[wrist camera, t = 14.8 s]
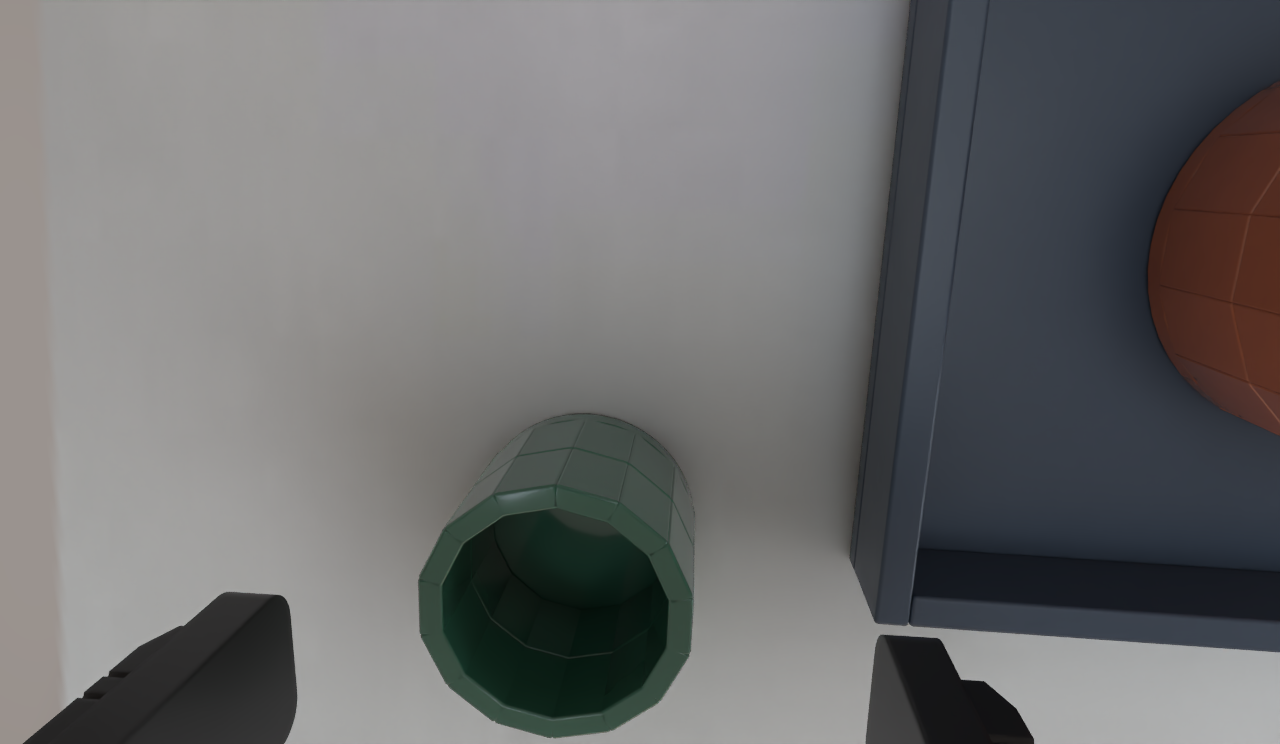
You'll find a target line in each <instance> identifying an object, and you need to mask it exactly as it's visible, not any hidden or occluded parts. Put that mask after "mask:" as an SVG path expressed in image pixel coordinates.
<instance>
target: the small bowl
mask: <svg viewBox="0 0 1280 744" xmlns="http://www.w3.org/2000/svg"><path fill="white" fill-rule="evenodd" d="M694 533H695V512H694V507H693V504H692V498H691V494H690V491H689V488H688V484H687V482H686V480H685V478H684V475H683V473H682V471H681V470H680V468H679V466H678V465H677V463H676V462H675V460H674V459H673V458H672V457H671V455H670V454H669V453H668V452H667V450H666V449H665V448H664V447H662V446H661V445H660V444H659V443H658V442H657V441H656V440H655V439H653V438H652V437H651V436H649V435H648V434H647V433H645V432H644V431H642V430H640V429H638V428H636V427H635V426H633V425H631V424H628V423H626V422H623V421H621V420H618V419H614V418H610V417H606V416H601V415H593V414H572V415H564V416H559V417H555V418H551V419H548V420H545V421H543V422H540V423H538V424H535V425H533V426H532V427H530V428H528V429H526V430H525V431H523V432H522V433H520V434H519V435H518V436H516V437H515V438H514V439H513V440H511V441H510V442H509V444H508V445H507V446H506V447H505V448H504V449H503V450H502V451H500V452H499V453H498V454H497V455H496V456H495V457H494V458H493V460H492V461H491V463H490V464H489V465H488V467H487V468H486V470H485V471H484V472H483V474H482V475H481V477H480V478H479V479H478V481H477V482H476V484H475V485H474V486H473V488H472V490H471V491H470V492H469V493H468V495H467V496H466V498H465V499H464V500H463V502H462V503H461V505H460V506H459V507H458V509H457V510H456V512H455V513H454V515H453V516H452V517H451V519H450V520H449V522H448V523H447V524H446V526H445V527H444V529H443V530H442V532H441V534H440V536H439V538H438V540H437V542H436V544H435V546H434V548H433V550H432V552H431V554H430V556H429V557H428V559H427V561H426V563H425V565H424V567H423V569H422V571H421V573H420V575H419V580H418V590H419V626H420V634H421V638H422V640H423V642H424V644H425V646H426V647H427V649H428V651H429V653H430V655H431V657H432V659H433V661H434V662H435V664H436V666H437V668H438V670H439V672H440V674H441V675H442V677H443V679H444V681H445V683H446V684H447V685H448V686H449V688H450V689H452V690H453V691H454V692H456V693H457V694H458V695H459V696H461V697H462V698H463V699H465V700H466V701H467V702H468V703H470V704H471V705H472V706H474V707H475V708H476V709H477V710H479V711H480V712H481V713H483V714H484V715H485V716H486V717H488V718H489V719H490V720H492V721H495V722H496V723H498V724H501V725H505V726H508V727H512V728H516V729H519V730H523V731H526V732H530V733H533V734H537V735H541V736H544V737H548V738H551V737H553V738H562V737H571V736H579V735H588V734H596V733H605V732H609V731H610V730H611V731H613V730H615V729H616V728H618V727H620V726H621V725H623V724H625V723H626V722H628V721H630V720H631V719H633V718H635V717H636V716H638V715H640V714H641V713H643V712H645V711H646V710H648V709H650V708H651V707H653V706H655V705H656V704H658V703H659V701H661V700H662V699H663V697H664V696H665V694H666V692H667V691H668V689H669V688H670V686H671V684H672V683H673V681H674V680H675V678H676V677H677V675H678V673H679V672H680V670H681V669H682V667H683V665H684V664H685V662H686V661H687V659H688V657H689V654H690V652H691V639H692V623H693V606H694Z"/></svg>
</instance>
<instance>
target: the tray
mask: <svg viewBox="0 0 1280 744" xmlns="http://www.w3.org/2000/svg"><path fill="white" fill-rule="evenodd" d="M1278 81H1280V0H911V3H910V12H909V21H908V30H907V39H906V49H905V58H904V67H903V76H902V85H901V94H900V103H899V113H898V122H897V131H896V140H895V149H894V158H893V167H892V176H891V186H890V195H889V204H888V213H887V222H886V231H885V240H884V250H883V259H882V268H881V277H880V286H879V295H878V304H877V313H876V323H875V332H874V341H873V350H872V359H871V368H870V377H869V387H868V396H867V405H866V414H865V423H864V432H863V441H862V451H861V460H860V469H859V478H858V487H857V496H856V505H855V514H854V524H853V533H852V542H851V551H850V561H851V563H852V566H853V568H854V570H855V573H856V575H857V578H858V580H859V583H860V585H861V588H862V591H863V593H864V596H865V598H866V601H867V603H868V606H869V608H870V611H871V613H872V616H873V619H874V621H875V622H876V623H878V624H888V625H902V626H906V625H907V624H908V622H909V624H910V625H911V626H916V627H930V628H944V629H958V630H972V631H987V632H1001V633H1015V634H1029V635H1043V636H1057V637H1071V638H1086V639H1100V640H1114V641H1128V642H1142V643H1156V644H1170V645H1184V646H1199V647H1213V648H1227V649H1241V650H1255V651H1269V652H1280V437H1278V436H1276V435H1273V434H1271V433H1269V432H1267V431H1265V430H1263V429H1261V428H1259V427H1257V426H1255V425H1253V424H1250V423H1248V422H1246V421H1244V420H1242V419H1239V418H1237V417H1235V416H1233V415H1231V414H1229V413H1227V412H1225V411H1223V410H1221V409H1220V408H1219V407H1217V406H1215V405H1214V404H1212V403H1211V402H1210V401H1209V400H1207V399H1206V398H1205V397H1203V396H1202V395H1201V394H1199V393H1198V392H1197V391H1196V390H1195V389H1194V388H1193V387H1192V386H1191V385H1190V384H1189V383H1188V382H1187V381H1186V380H1185V379H1184V378H1183V377H1182V375H1181V374H1180V373H1179V371H1178V370H1177V368H1176V367H1175V366H1174V364H1173V363H1172V361H1171V360H1170V358H1169V357H1168V355H1167V353H1166V351H1165V349H1164V347H1163V345H1162V343H1161V341H1160V339H1159V336H1158V333H1157V330H1156V327H1155V324H1154V321H1153V317H1152V314H1151V307H1150V301H1149V295H1148V262H1149V253H1150V245H1151V241H1152V237H1153V233H1154V229H1155V225H1156V221H1157V218H1158V216H1159V213H1160V211H1161V208H1162V206H1163V203H1164V201H1165V198H1166V196H1167V194H1168V192H1169V190H1170V188H1171V187H1172V185H1173V183H1174V181H1175V179H1176V177H1177V175H1178V174H1179V172H1180V171H1181V169H1182V168H1183V166H1184V165H1185V163H1186V162H1187V161H1188V159H1189V158H1190V156H1191V155H1192V153H1193V152H1194V151H1195V149H1196V148H1197V147H1198V146H1199V145H1200V144H1201V143H1202V142H1203V140H1204V139H1205V138H1206V137H1207V136H1208V135H1209V134H1210V132H1211V131H1212V130H1213V129H1214V128H1215V127H1216V126H1217V125H1219V124H1220V123H1221V122H1222V121H1223V120H1224V119H1225V118H1226V117H1227V116H1229V115H1230V114H1231V113H1232V112H1233V111H1234V110H1235V109H1237V108H1238V107H1239V106H1241V105H1242V104H1243V103H1245V102H1246V101H1248V100H1249V99H1250V98H1252V97H1253V96H1255V95H1256V94H1257V93H1259V92H1261V91H1262V90H1264V89H1266V88H1268V87H1269V86H1271V85H1273V84H1275V83H1277V82H1278Z"/></svg>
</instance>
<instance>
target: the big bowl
mask: <svg viewBox="0 0 1280 744" xmlns="http://www.w3.org/2000/svg"><path fill="white" fill-rule="evenodd" d="M1148 295H1149V301H1150V307H1151V314H1152V317H1153V321H1154V324H1155V327H1156V330H1157V333H1158V336H1159V339H1160V341H1161V343H1162V345H1163V347H1164V349H1165V351H1166V353H1167V355H1168V357H1169V358H1170V360H1171V361H1172V363H1173V364H1174V366H1175V367H1176V368H1177V370H1178V371H1179V373H1180V374H1181V375H1182V377H1183V378H1184V379H1185V380H1186V381H1187V382H1188V383H1189V384H1190V385H1191V386H1192V387H1193V388H1194V389H1195V390H1196V391H1197V392H1198V393H1199V394H1201V395H1202V396H1203V397H1205V398H1206V399H1207V400H1209V401H1210V402H1211V403H1212V404H1214V405H1215V406H1217V407H1219V408H1220V409H1221V410H1223V411H1225V412H1227V413H1229V414H1231V415H1233V416H1235V417H1237V418H1239V419H1242V420H1244V421H1246V422H1248V423H1250V424H1253V425H1255V426H1257V427H1259V428H1261V429H1263V430H1265V431H1267V432H1269V433H1271V434H1273V435H1276V436H1278V437H1280V81H1278V82H1277V83H1275V84H1273V85H1271V86H1269V87H1268V88H1266V89H1264V90H1262V91H1261V92H1259V93H1257V94H1256V95H1255V96H1253V97H1252V98H1250V99H1249V100H1248V101H1246V102H1245V103H1243V104H1242V105H1241V106H1239V107H1238V108H1237V109H1235V110H1234V111H1233V112H1232V113H1231V114H1230V115H1229V116H1227V117H1226V118H1225V119H1224V120H1223V121H1222V122H1221V123H1220V124H1219V125H1217V126H1216V127H1215V128H1214V129H1213V130H1212V131H1211V132H1210V134H1209V135H1208V136H1207V137H1206V138H1205V139H1204V140H1203V142H1202V143H1201V144H1200V145H1199V146H1198V147H1197V148H1196V149H1195V151H1194V152H1193V153H1192V155H1191V156H1190V158H1189V159H1188V161H1187V162H1186V163H1185V165H1184V166H1183V168H1182V169H1181V171H1180V172H1179V174H1178V175H1177V177H1176V179H1175V181H1174V183H1173V185H1172V187H1171V188H1170V190H1169V192H1168V194H1167V196H1166V198H1165V201H1164V203H1163V206H1162V208H1161V211H1160V213H1159V216H1158V218H1157V221H1156V225H1155V229H1154V233H1153V237H1152V241H1151V245H1150V253H1149V262H1148Z"/></svg>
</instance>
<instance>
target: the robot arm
mask: <svg viewBox="0 0 1280 744" xmlns="http://www.w3.org/2000/svg"><path fill="white" fill-rule="evenodd" d="M296 707H297V686H296V674H295V663H294V651H293V640H292V628H291V616H290V609H289V605H288V603H287V601H286V599H285V598H284V597H283V596H281V595H270V594H255V593H239V592H225V593H223V594H221V595H220V596H218V597H217V598H216V599H215V600H214V601H212V602H211V603H210V604H209V605H208V606H207V607H205V608H204V609H203V610H202V611H201V612H200V613H199V614H197V615H196V616H195V617H194V618H193V619H192V620H190V621H189V622H188V623H187V624H186V625H185V626H179V627H177V628H175V629H173V630H171V631H169V632H167V633H165V634H163V635H161V636H159V637H157V638H155V639H153V640H151V641H149V642H147V643H145V644H143V645H141V646H139V647H138V648H137V649H136V650H134V651H133V652H132V653H131V654H130V655H128V656H127V657H126V658H125V659H124V660H122V661H121V662H120V663H119V664H118V665H117V666H115V667H114V668H113V669H112V670H111V671H109V676H108V677H102V678H101V679H100V680H99V681H97V682H96V683H95V684H94V685H93V686H91V687H90V688H89V689H88V690H87V691H85V692H84V696H83V698H77V699H76V700H75V701H73V702H72V703H71V704H70V705H69V706H67V707H66V708H65V709H64V710H63V711H61V712H60V713H59V714H58V715H57V716H55V717H54V718H53V719H52V720H51V721H49V722H48V723H47V724H46V725H45V726H43V727H42V728H41V729H40V730H39V731H37V732H36V733H35V734H34V735H33V736H31V737H30V738H29V739H28V740H27V741H25V742H24V743H23V744H284V743H285V741H286V739H287V737H288V735H289V733H290V730H291V728H292V725H293V721H294V718H295V713H296ZM866 744H1034V739H1033V737H1032V735H1031V733H1030V732H1029V730H1028V728H1027V726H1026V725H1025V723H1024V721H1023V719H1022V718H1021V716H1020V714H1019V713H1018V711H1017V709H1016V708H1015V707H1014V706H1013V705H1011V704H1010V703H1009V702H1008V701H1007V700H1005V699H1004V698H1003V697H1002V696H1001V695H1000V694H998V693H997V692H996V691H995V690H994V689H993V688H991V687H990V686H989V685H988V684H987V683H986V682H984V681H971V680H961V679H960V677H959V675H958V673H957V671H956V669H955V667H954V665H953V663H952V661H951V659H950V657H949V655H948V653H947V651H946V649H945V647H944V645H943V643H942V642H941V640H940V639H938V638H925V637H909V636H894V635H880V636H879V637H878V640H877V643H876V648H875V655H874V665H873V674H872V684H871V694H870V704H869V713H868V723H867V733H866Z"/></svg>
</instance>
